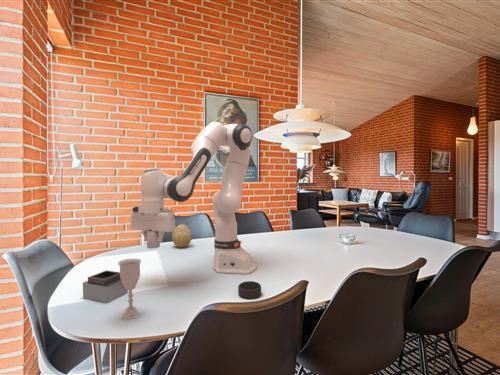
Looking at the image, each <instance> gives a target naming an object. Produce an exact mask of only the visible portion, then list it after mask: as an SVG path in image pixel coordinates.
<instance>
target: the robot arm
mask: <svg viewBox="0 0 500 375" xmlns="http://www.w3.org/2000/svg"><path fill="white" fill-rule="evenodd" d="M252 139H253V133H252V129H251V127H250V126H248V125H247V124H243V123H230V124H222V123H221V122H218V121H211V122H210V123H208V124H207V125H206V126H204V127H203V129H202V130H201V131H199V133H198V135H197V136H196V137H195V138H194V140H193V141H192V144H191V146H190V151H191V153H192V159H191V160H190V162H189V163H188V165H187V166H186V167H185V169H184V170H183V172H182V173H180V174H179V175H178V176H173V175H171V174H168V173H166V172H165V171H164V170H162V168H153V169H147V170H145V171H144V172H142V174H141V178H140V192H141V200H140V204H137V205H134V206H133V207H131V209H130V210H131V211H130V212H131V216H130V228H131V229H132V230H133V231H134V230H135V231H141V234H142V236H143V237H144V238H143V240H144V241H145V242H147V231H149V229H151V230H152V231H159V237H158V238H157V242H160V243H162V242H163V238H164V236H165V234H166V233H173V231H174V230H175V228H176V227H177V226H176V220H175V219H176V218H175V211H173V210H172V209H171V208H164V207H165V204H164V203H165V201H164V199H166V198H167V199H169V200H173V201H175V202H178V203H182V202H186V201H187V200H189V199H190V198H191V197H192V196H193V193H194V190H195V186H196V183H197V181H198V180H199V178H200V176H201V175H202V173H203V171H204V170H205V169H206V167H207V165H208V164H209V162H210V161H211V160H212V158H213V157H214V155H215V154H216V153H217V151H218V150H219V149H220V147H221V146H223V147H228V148H229V154H228V157H227V159H226V163H225V166H224V169H223V172H222V176H221V178H222V179H221V186H220V189H219V190H218V191H216V192H215V193H214V194H213V195H212V199H211V201H212V211H213V218H214V232H215V233H214V235H215V236H214V238H215V239H213V240H214V245H213V246H214V256H213V257H214V258H213V263H212V269H213V270H214V271H215V273H218V274H233V275H235V274H236V275H237V274H238V275H248V274H252V273H253V272H255V270H257V268H258V265H257V264H256V263H254V262H253V257H252V255H251V254H250V253H249V252H248V251H246V250H245V249H244V248H243V247H242V246H241V244H242V243H243V242H242V241H243V240H239V239H238V222H237V219H236V214H235V213H236V212H238V211H239V210H240V208H241V206H242V194H243V188H244V185H243V184H244V180H245V178H246V175H247V171H248V167H249V163H250V159H251V154H252V153H251V148H250V146H251V143H252V141H253V140H252Z"/></svg>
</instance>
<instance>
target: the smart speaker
mask: <svg viewBox="0 0 500 375" xmlns="http://www.w3.org/2000/svg"><path fill="white" fill-rule="evenodd" d="M237 293H238V296H239V297H241V298H242V299H247V300H249V299H250V300H251V299H257V298H259V297H260V296H261V295H262V286H261V284H260V283H259V282H257V281H249V280H248V281H243V282H240V283H239V284H238V287H237Z"/></svg>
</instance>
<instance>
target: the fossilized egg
mask: <svg viewBox="0 0 500 375" xmlns="http://www.w3.org/2000/svg"><path fill="white" fill-rule="evenodd" d="M175 227H176V228H175V230H174V231H172V234H171V240H172V243H173V244H174V246H176V247H177V248H185V247H187V246H189V245H190V244H191V242H192V239H193V233H192V231H191V229H190V228H189V226H187V225H186V224H184V223H181V224H178V225H177V226H175Z"/></svg>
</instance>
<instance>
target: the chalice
mask: <svg viewBox="0 0 500 375" xmlns="http://www.w3.org/2000/svg"><path fill="white" fill-rule="evenodd" d="M141 262H142V259H140V258H126V259H121V260H119V261H118V262H117V265H119V272H120V279H121V281H122V283H123V285H124V287H125V288H126V289H127V290H128V295H127V297H128V300H127V302H128V307H127V308H125V310H124V312H123V315H122V318H123V319H124V320H131V319H135V318H137V317H139V315H140V312H139V311H138V308H137V307H136V306H133V302H134V299H133V297H134V294H133V290H135V289H136V286H137V284H138V282H139V280H140V276H141Z"/></svg>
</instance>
